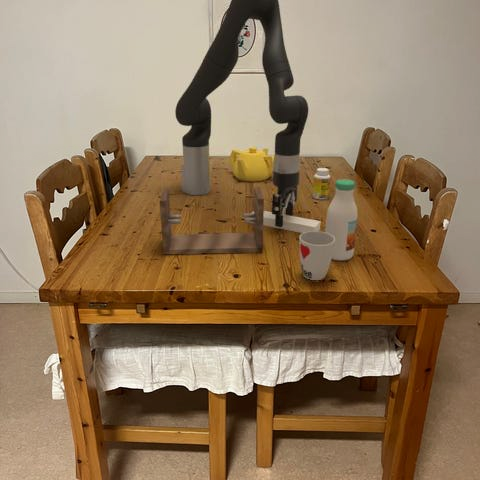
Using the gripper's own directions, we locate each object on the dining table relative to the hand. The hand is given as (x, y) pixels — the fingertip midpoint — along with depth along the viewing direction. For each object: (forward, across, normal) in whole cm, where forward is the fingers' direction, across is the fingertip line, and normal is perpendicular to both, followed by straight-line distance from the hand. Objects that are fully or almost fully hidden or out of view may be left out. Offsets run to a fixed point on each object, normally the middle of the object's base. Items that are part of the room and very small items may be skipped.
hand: (284, 221), depth 139 cm
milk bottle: (+2, +12, +20) cm, 23 cm away
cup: (+2, +26, +18) cm, 32 cm away
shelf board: (+2, 0, 0) cm, 2 cm away
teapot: (+2, -42, -30) cm, 52 cm away
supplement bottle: (+2, -30, +2) cm, 30 cm away
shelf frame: (+1, +22, -12) cm, 25 cm away
